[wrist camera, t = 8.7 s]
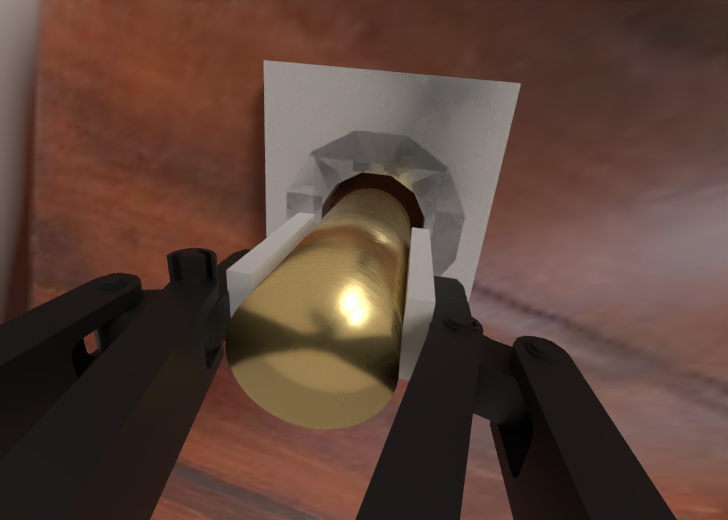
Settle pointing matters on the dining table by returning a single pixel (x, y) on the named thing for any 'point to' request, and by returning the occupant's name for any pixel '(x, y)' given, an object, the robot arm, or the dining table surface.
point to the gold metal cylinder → (328, 318)
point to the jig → (389, 147)
